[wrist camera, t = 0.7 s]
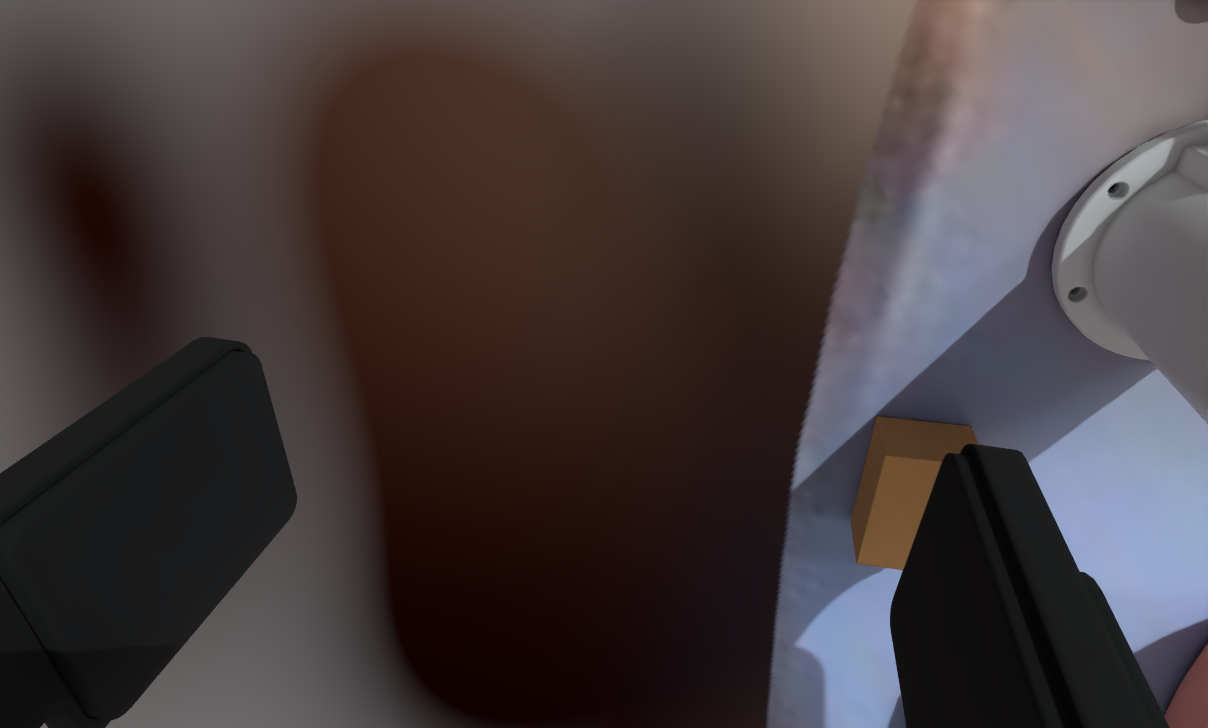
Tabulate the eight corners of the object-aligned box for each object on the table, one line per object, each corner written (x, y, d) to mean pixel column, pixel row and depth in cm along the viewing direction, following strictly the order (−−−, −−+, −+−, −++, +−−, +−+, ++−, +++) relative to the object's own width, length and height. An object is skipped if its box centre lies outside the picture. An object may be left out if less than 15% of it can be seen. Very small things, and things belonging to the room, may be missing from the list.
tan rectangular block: (876, 415, 44) (885, 455, 41) (971, 425, 43) (988, 467, 40) (850, 520, 49) (856, 563, 45) (935, 532, 48) (948, 576, 44)
